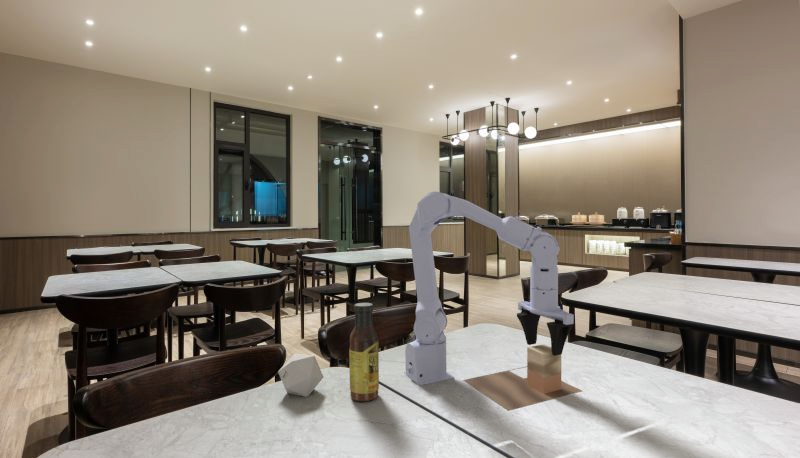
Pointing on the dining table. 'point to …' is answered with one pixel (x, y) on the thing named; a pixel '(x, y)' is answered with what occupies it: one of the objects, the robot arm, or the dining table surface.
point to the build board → (515, 389)
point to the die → (300, 374)
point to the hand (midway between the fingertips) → (543, 349)
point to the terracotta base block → (544, 382)
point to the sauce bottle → (364, 355)
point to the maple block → (543, 361)
